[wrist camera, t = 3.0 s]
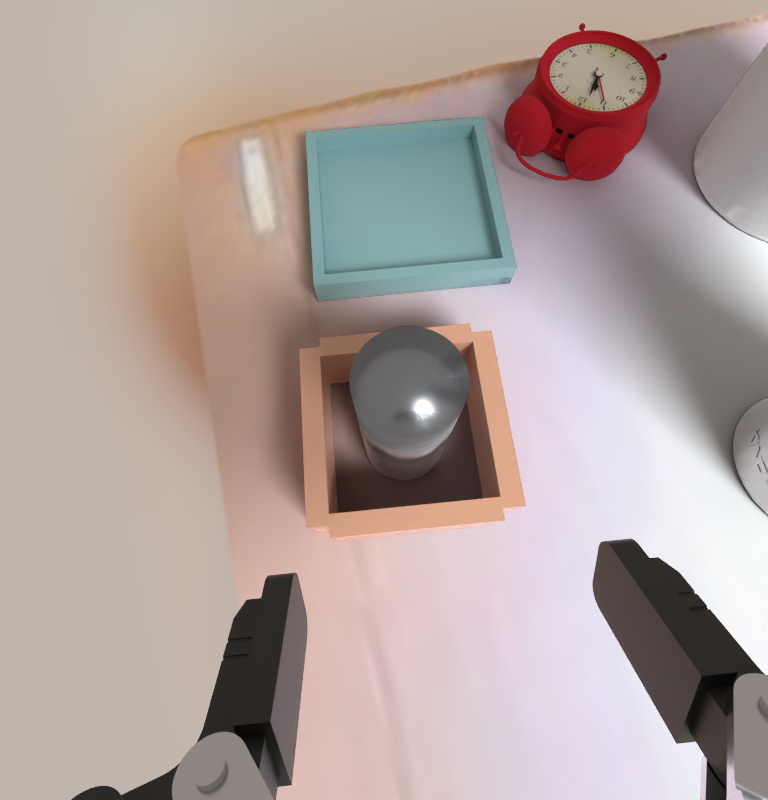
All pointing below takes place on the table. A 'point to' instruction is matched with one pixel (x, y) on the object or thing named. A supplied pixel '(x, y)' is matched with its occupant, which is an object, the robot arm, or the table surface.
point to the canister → (407, 398)
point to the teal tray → (405, 209)
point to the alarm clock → (585, 103)
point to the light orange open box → (497, 492)
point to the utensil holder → (739, 154)
